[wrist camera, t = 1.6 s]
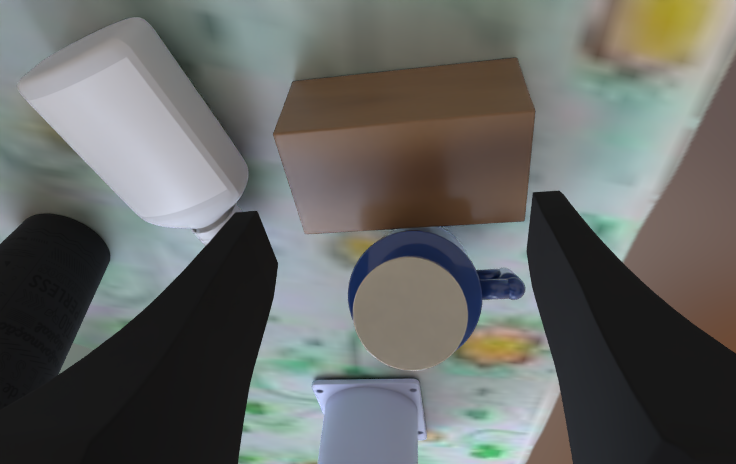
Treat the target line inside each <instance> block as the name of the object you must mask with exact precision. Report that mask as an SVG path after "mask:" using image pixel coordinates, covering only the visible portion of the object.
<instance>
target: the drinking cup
mask: <svg viewBox="0 0 736 464" xmlns="http://www.w3.org/2000/svg"><path fill="white" fill-rule="evenodd" d="M109 261H110V253H109V250H108V248H107V246H106V244H105V243H104V241H103V240H102V239H101V238H100V237H99V236H98V235H97V234H96V233H95V232H94V231H92V230H91V229H89V228H88V227H86V226H85V225H83V224H81V223H79V222H77V221H75V220H72V219H70V218H67V217H63V216H59V215H53V214H39V215H34V216H31V217H29V218H28V219H26V220H25V221H24V222H23V223H22V224H21V225H20V226H19V227H18V228H17V229H16V230H15V231H13V232H12V233H11V234H10V235H9V236H8V237H7V238H6V239H5V240H4V241H3V242H2V243H1V244H0V410H1V409H2V408H4V407H6V406H8V405H9V404H11V403H13V402H15V401H16V400H18V399H20V398H21V397H23V396H25V395H27V394H28V393H30V392H32V391H33V390H35V389H37V388H38V387H40V386H42V385H43V384H45V383H46V382H48V381H50V380H51V379H53V378H54V377H56V376H57V375H58V374H59V372H60V370H61V367H62V365H63V363H64V361H65V359H66V356H67V354H68V352H69V350H70V348H71V345H72V343H73V341H74V339H75V337H76V334H77V332H78V330H79V328H80V326H81V323H82V321H83V319H84V317H85V315H86V312H87V310H88V308H89V306H90V304H91V301H92V299H93V297H94V295H95V293H96V290H97V288H98V286H99V284H100V281H101V279H102V277H103V275H104V273H105V270H106V268H107V266H108V264H109Z"/></svg>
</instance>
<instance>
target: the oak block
mask: <svg viewBox="0 0 736 464" xmlns="http://www.w3.org/2000/svg"><path fill="white" fill-rule="evenodd" d="M534 121H535V108H534V105H533V102H532V100H531V97H530V94H529V91H528V88H527V85H526V82H525V79H524V76H523V73H522V70H521V67H520V64H519V61H518V59H517V58H508V59H498V60H489V61H479V62H470V63H461V64H451V65H442V66H432V67H423V68H413V69H404V70H395V71H385V72H376V73H366V74H357V75H348V76H338V77H329V78H319V79H310V80H300V81H293V82H292V84H291V87H290V90H289V92H288V95H287V98H286V101H285V103H284V106H283V109H282V111H281V114H280V117H279V119H278V122H277V125H276V128H275V130H274V133H273V136H274V139H275V142H276V145H277V148H278V151H279V155H280V158H281V161H282V164H283V167H284V170H285V173H286V176H287V179H288V183H289V186H290V189H291V192H292V195H293V198H294V201H295V204H296V207H297V211H298V214H299V217H300V220H301V223H302V226H303V229H304V232H305V234H317V233H334V232H351V231H368V230H385V229H402V228H419V227H436V226H453V225H470V224H487V223H504V222H521V221H524V220H525V212H526V202H527V192H528V182H529V172H530V161H531V151H532V141H533V131H534Z"/></svg>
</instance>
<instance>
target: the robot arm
mask: <svg viewBox="0 0 736 464" xmlns="http://www.w3.org/2000/svg"><path fill="white" fill-rule="evenodd" d="M527 257H528V264H529V270H530V277H531V283H532V288H533V292H534V295H535V299H536V302H537V306H538V309H539V313H540V316H541V320H542V323H543V326H544V330H545V333H546V337H547V340H548V344H549V347H550V350H551V354H552V357H553V361H554V364H555V368H556V372H557V376H558V380H559V385H560V391H561V396H562V402H563V407H564V413H565V418H566V424H567V430H568V436H569V442H570V448H571V453H572V460H573V464H736V353H734V352H733V351H731V350H730V349H728V348H727V347H725V346H724V345H723V344H721V343H720V342H718V341H717V340H715V339H714V338H713V337H711V336H710V335H708V334H707V333H705V332H704V331H703V330H701V329H699V328H698V327H697V326H695V325H694V324H692V323H691V322H690V321H689V320H687V319H686V318H685V317H683V316H682V315H681V314H680V313H678V312H677V311H676V310H674V309H673V308H672V307H671V306H670V305H668V304H667V303H666V302H665V301H664V300H662V299H661V298H660V297H659V296H658V295H656V294H655V293H654V292H653V291H652V290H651V289H650V288H649V287H647V286H646V285H645V284H644V283H643V282H642V281H641V280H640V279H639V278H638V277H637V276H636V275H635V274H634V273H633V272H631V271H630V270H629V269H628V268H627V267H626V266H625V265H624V264H623V263H622V262H621V261H620V260H619V259H618V258H617V256H616V255H615V254H614V253H613V252H612V251H611V250H610V249H609V248H608V247H607V246H606V245H605V244H604V243H603V241H602V240H601V239H600V238H599V237H598V236H597V235H596V234H595V233H594V231H593V230H592V229H591V228H590V227H589V226H588V224H587V223H586V222H585V221H584V220H583V218H582V217H581V216H580V215H579V214H578V212H577V211H576V210H575V209H574V207H573V206H572V205H571V204H570V202H569V201H568V200H567V198H566V197H565V196H564V194H562V193H561V192H560V191H547V192H533V197H532V206H531V215H530V224H529V233H528V243H527ZM277 269H278V262H277V260H276V257H275V254H274V252H273V249H272V247H271V244H270V242H269V239H268V237H267V234H266V232H265V229H264V227H263V224H262V222H261V219H260V217H259V214H258V212H257V211H248V212H235V213H234V214H233V216H232V217H231V218H230V219H229V220H228V221H227V222H226V223H225V224H224V226H223V227H222V228H221V229H220V230H219V231H218V232H217V234H216V235H215V236H214V237H213V238H212V239H211V241H210V242H209V243H208V244H207V245H206V246H205V247H204V248H203V250H202V251H201V252H200V253H199V254H198V255H197V256H196V257H195V259H194V260H193V261H192V262H191V263H190V264H189V265H188V266H187V267H186V269H185V270H184V271H183V272H182V273H181V274H180V275H179V276H178V277H177V278H176V279H175V280H174V281H173V282H172V283H171V284H170V285H169V286H168V287H167V288H166V289H165V290H164V291H163V292H162V293H161V294H160V295H159V296H158V297H157V298H156V299H155V300H154V301H153V302H152V303H151V304H150V305H148V306H147V307H146V308H145V309H144V310H143V311H142V312H141V313H140V314H138V315H137V316H136V317H135V318H134V319H133V320H131V321H130V322H129V323H128V324H127V325H126V326H124V327H123V328H122V329H121V330H120V331H118V332H117V333H116V334H114V335H113V336H112V337H110V338H109V339H108V340H106V341H105V342H104V343H102V344H101V345H100V346H99V347H97V348H96V349H95V350H93V351H92V352H91V353H89V354H88V355H87V356H85V357H84V358H82V359H81V360H80V361H78V362H77V363H75V364H74V365H72V366H71V367H69V368H68V369H66V370H65V371H64V372H62V373H60V374H59V375H57V376H56V377H54V378H53V379H51V380H50V381H48V382H46V383H45V384H43V385H42V386H40V387H38V388H37V389H35V390H33V391H32V392H30V393H28V394H27V395H25V396H23V397H21V398H20V399H18V400H16V401H15V402H13V403H11V404H9V405H8V406H6V407H4V408H2V409H1V410H0V464H238V458H239V450H240V443H241V436H242V429H243V422H244V416H245V410H246V404H247V398H248V392H249V387H250V382H251V378H252V374H253V370H254V366H255V362H256V359H257V355H258V352H259V348H260V345H261V341H262V338H263V334H264V331H265V327H266V324H267V320H268V316H269V313H270V309H271V305H272V301H273V298H274V291H275V285H276V277H277ZM312 389H313V391H314V393H315V396H316V398H317V400H318V402H319V405H320V407H321V409H322V412H323V414H324V420H323V428H322V435H321V443H320V450H319V457H318V464H418V440H425V439H426V438H427V432H426V425H425V418H424V411H423V404H422V397H421V390H420V383H419V381H418V380H417V379H347V380H315V381H313V382H312Z"/></svg>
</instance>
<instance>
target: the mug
mask: <svg viewBox="0 0 736 464" xmlns="http://www.w3.org/2000/svg"><path fill="white" fill-rule="evenodd" d="M524 293H525V285H524V283H523V281H522V280H521V279H520V278H519V277H518V276H517V275H516V274H515V273H513V272H512V271H511V270H510V269H508V268H500V269H488V270H476V269H475V267H474V265H473V263H472V261H471V259H470V258H469V256H468V254H467V252H466V250H465V248H464V247H463V245H462V244H461V243H460V241H459V240H458V239H457V238H456V237H455V236H454V235H452V234H451V233H450V232H448V231H447V230H445V229H443V228H441V227H438V226H436V227H419V228H402V229H396V230H394V231H392V232H391V233H389V234H387V235H386V236H384V237H383V238H381V239H380V240H378V241H377V242H376V243H374V244H373V245H372V246H370V247H369V248H368V249H367V250H366V251H365V252H364V253H363V255H362V256H361V257H360V259H359V260H358V262H357V263H356V265H355V267H354V269H353V272H352V274H351V278H350V281H349V288H348V303H349V309H350V313H351V317H352V319H353V322H354V326H355V330H356V333H357V335H358V337H359V339H360V341H361V343H362V344H363V346H364V347H365V348H366V350H367V351H368V352H369V353H370V354H371V355H372V356H373V357H375V358H376V359H377V360H379V361H380V362H382V363H383V364H385V365H388V366H390V367H393V368H396V369H400V370H406V371H417V370H424V369H428V368H431V367H434V366H436V365H438V364H440V363H442V362H443V361H445V360H446V359H447V358H449V357H450V356H451V355H452V354H453V353H454V352H455V351H456V350H457V349H459V348H460V347H461V346H462V345H463V344H464V343H465V342H466V341H467V339H468V338H469V337H470V336H471V334H472V332H473V331H474V329H475V327H476V325H477V323H478V320H479V317H480V314H481V308H482V300H490V299H511V300H517V299H519V298H521V297H522V296H523V295H524Z"/></svg>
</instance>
